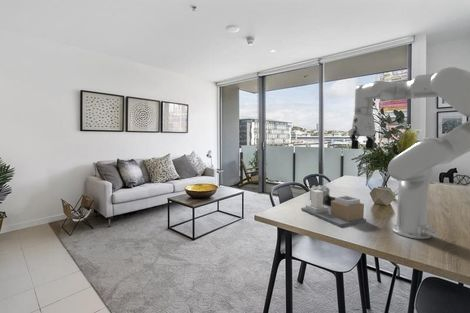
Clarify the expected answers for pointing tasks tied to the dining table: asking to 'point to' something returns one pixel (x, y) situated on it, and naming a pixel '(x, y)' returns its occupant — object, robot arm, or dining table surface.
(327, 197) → the chocolate cake
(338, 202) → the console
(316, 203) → the plug
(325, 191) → the lumpy-topped squat cylinder
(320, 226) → the dining table surface
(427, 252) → the dining table surface
